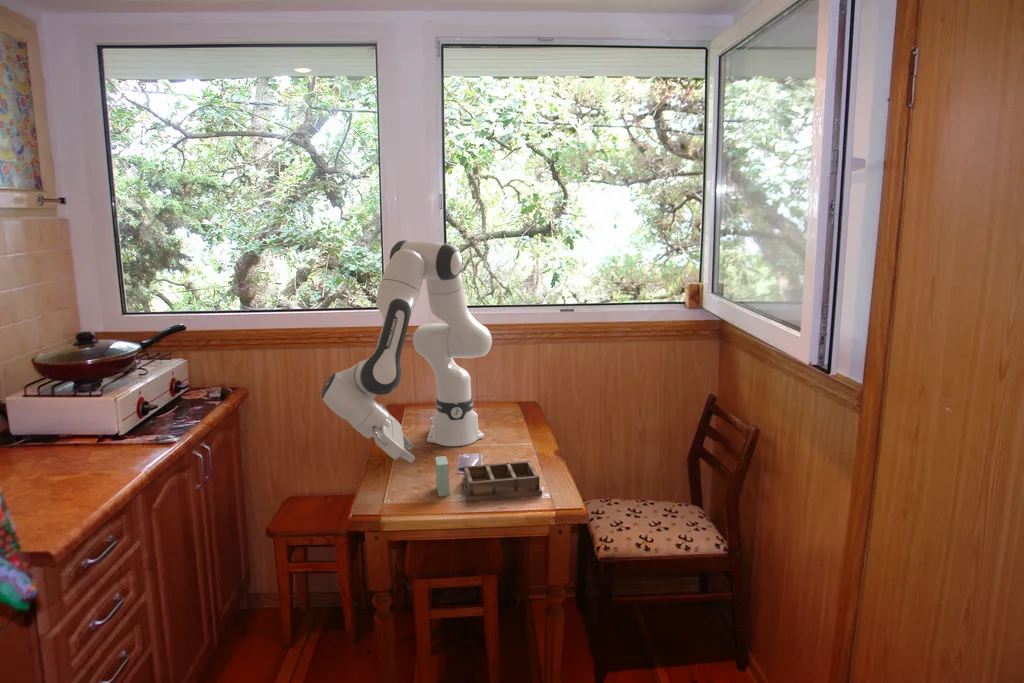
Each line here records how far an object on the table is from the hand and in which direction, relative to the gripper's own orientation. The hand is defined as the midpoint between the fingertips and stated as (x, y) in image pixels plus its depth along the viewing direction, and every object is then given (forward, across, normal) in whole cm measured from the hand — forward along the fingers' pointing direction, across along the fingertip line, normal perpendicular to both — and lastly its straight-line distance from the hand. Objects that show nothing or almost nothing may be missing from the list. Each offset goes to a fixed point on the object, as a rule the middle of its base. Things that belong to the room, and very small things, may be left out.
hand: (412, 453), depth 193 cm
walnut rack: (+25, -2, -9) cm, 27 cm away
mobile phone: (+21, +18, -4) cm, 28 cm away
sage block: (+14, 0, +3) cm, 14 cm away
